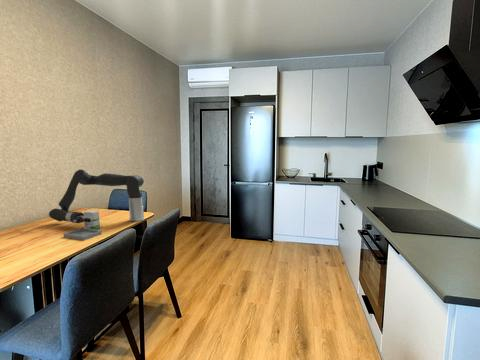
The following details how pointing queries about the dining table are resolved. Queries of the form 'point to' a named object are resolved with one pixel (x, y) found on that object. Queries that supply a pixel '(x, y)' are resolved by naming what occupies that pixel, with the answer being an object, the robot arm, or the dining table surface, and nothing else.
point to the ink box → (92, 220)
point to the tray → (82, 233)
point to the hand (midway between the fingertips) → (93, 219)
